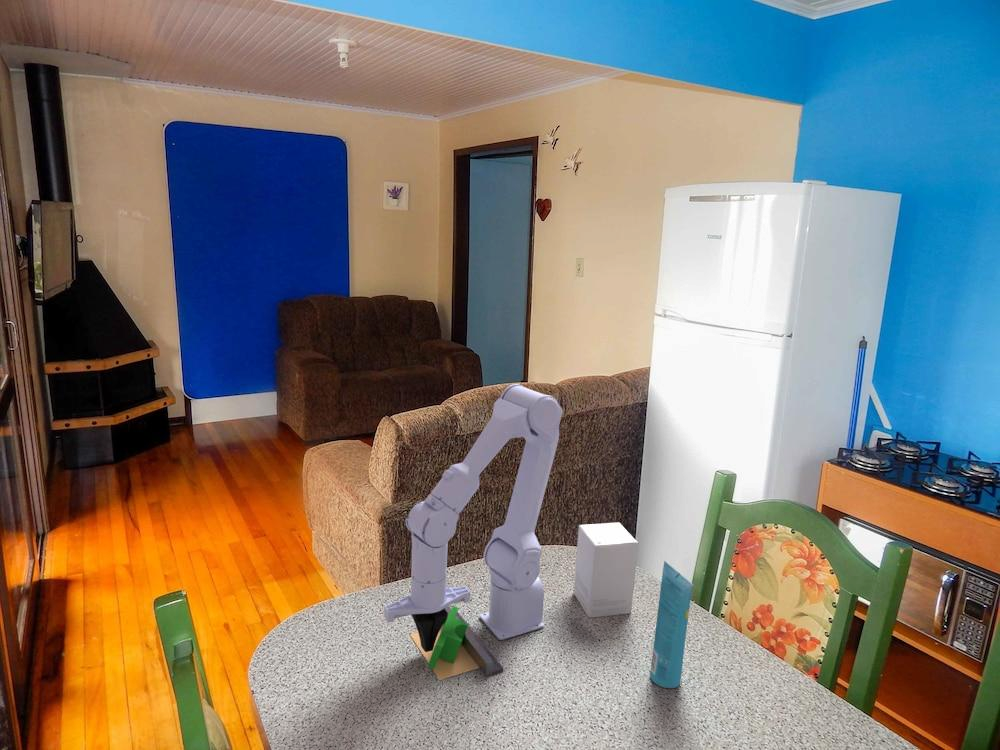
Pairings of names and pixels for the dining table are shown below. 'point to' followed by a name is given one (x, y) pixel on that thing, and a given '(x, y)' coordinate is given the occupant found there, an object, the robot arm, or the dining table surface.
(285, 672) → the dining table surface
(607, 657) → the dining table surface
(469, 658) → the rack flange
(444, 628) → the pipe clamp
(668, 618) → the tube
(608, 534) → the supplement box
